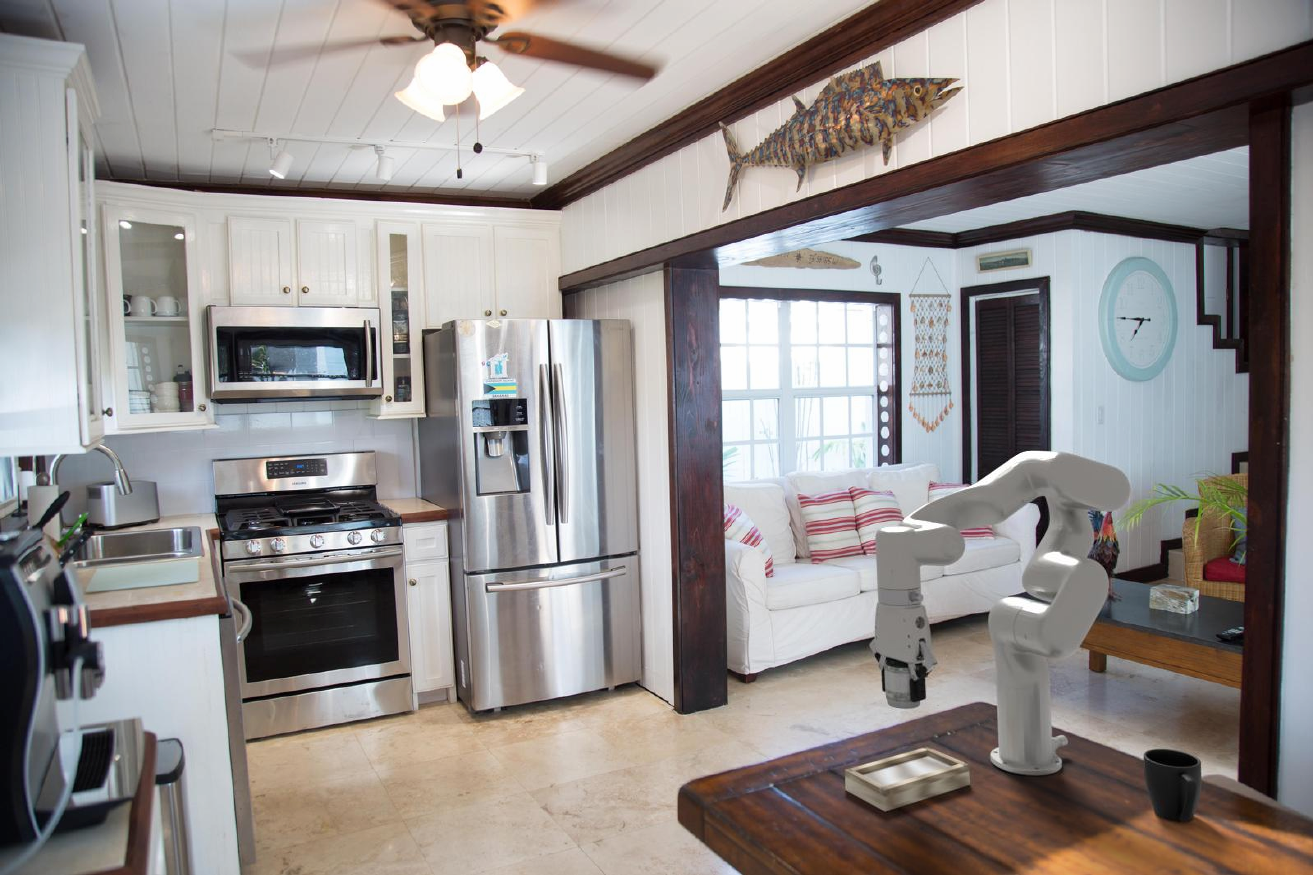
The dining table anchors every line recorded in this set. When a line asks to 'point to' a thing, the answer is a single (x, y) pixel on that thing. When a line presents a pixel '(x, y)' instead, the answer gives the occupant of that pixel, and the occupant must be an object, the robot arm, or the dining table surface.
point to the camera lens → (898, 684)
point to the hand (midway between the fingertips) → (903, 694)
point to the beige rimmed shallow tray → (906, 778)
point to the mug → (1173, 783)
